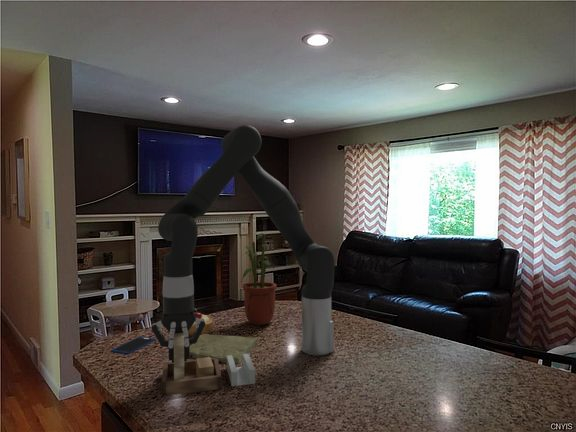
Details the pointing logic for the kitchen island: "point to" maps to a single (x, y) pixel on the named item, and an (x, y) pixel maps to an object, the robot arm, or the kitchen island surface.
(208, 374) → the oak offcut upper
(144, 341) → the cell phone
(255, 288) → the potted plant
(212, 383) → the wooden tray
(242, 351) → the decorative tile
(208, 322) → the pastry
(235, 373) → the slot stand
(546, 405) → the kitchen island surface
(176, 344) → the birch sheet
